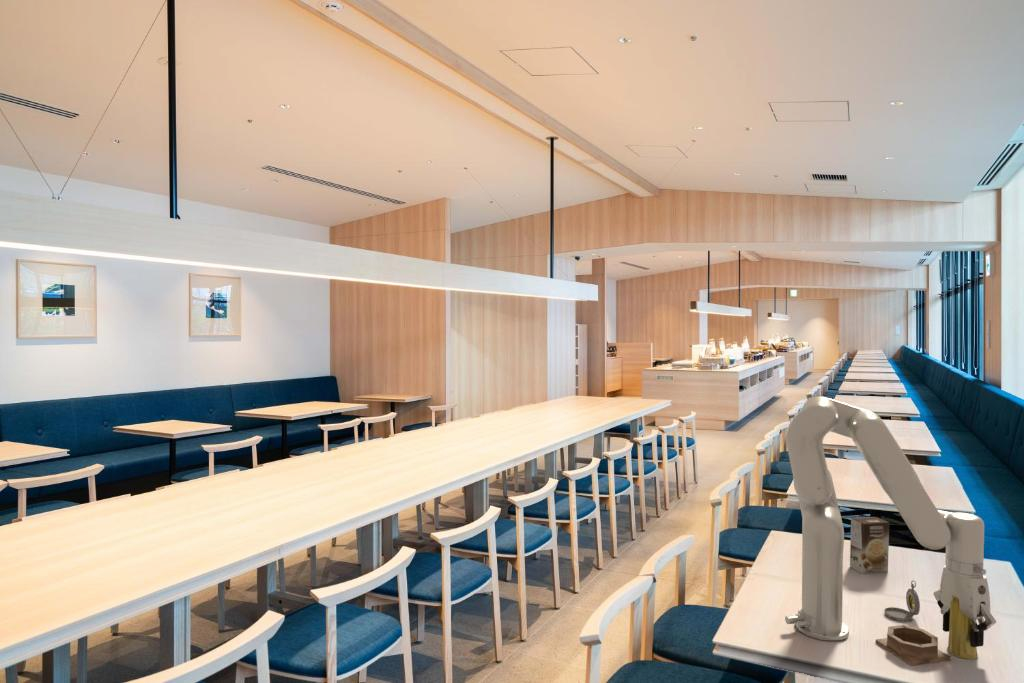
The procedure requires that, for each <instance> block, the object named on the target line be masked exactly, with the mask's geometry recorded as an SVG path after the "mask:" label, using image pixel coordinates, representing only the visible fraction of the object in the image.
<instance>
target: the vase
mask: <svg viewBox="0 0 1024 683" xmlns="http://www.w3.org/2000/svg"><path fill="white" fill-rule="evenodd" d="M952 598H953V599H952V602H951V605H950V620H949V632H948V642H947V647H946V650H947V651H948V652H949V653H950V654H951V655H953V656H955V657H957V658H961V659H966V660H974V659H976V658H978V656H979V654H978V650H977V649H978V647H972V646H970V631H971V630H973V628H972V625H971V622H970V619H969V618H968V617H966V616H965V615H963V614H962V613H961V610H960V606H959V598H958V597H956V596H954V595H952Z"/></svg>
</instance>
